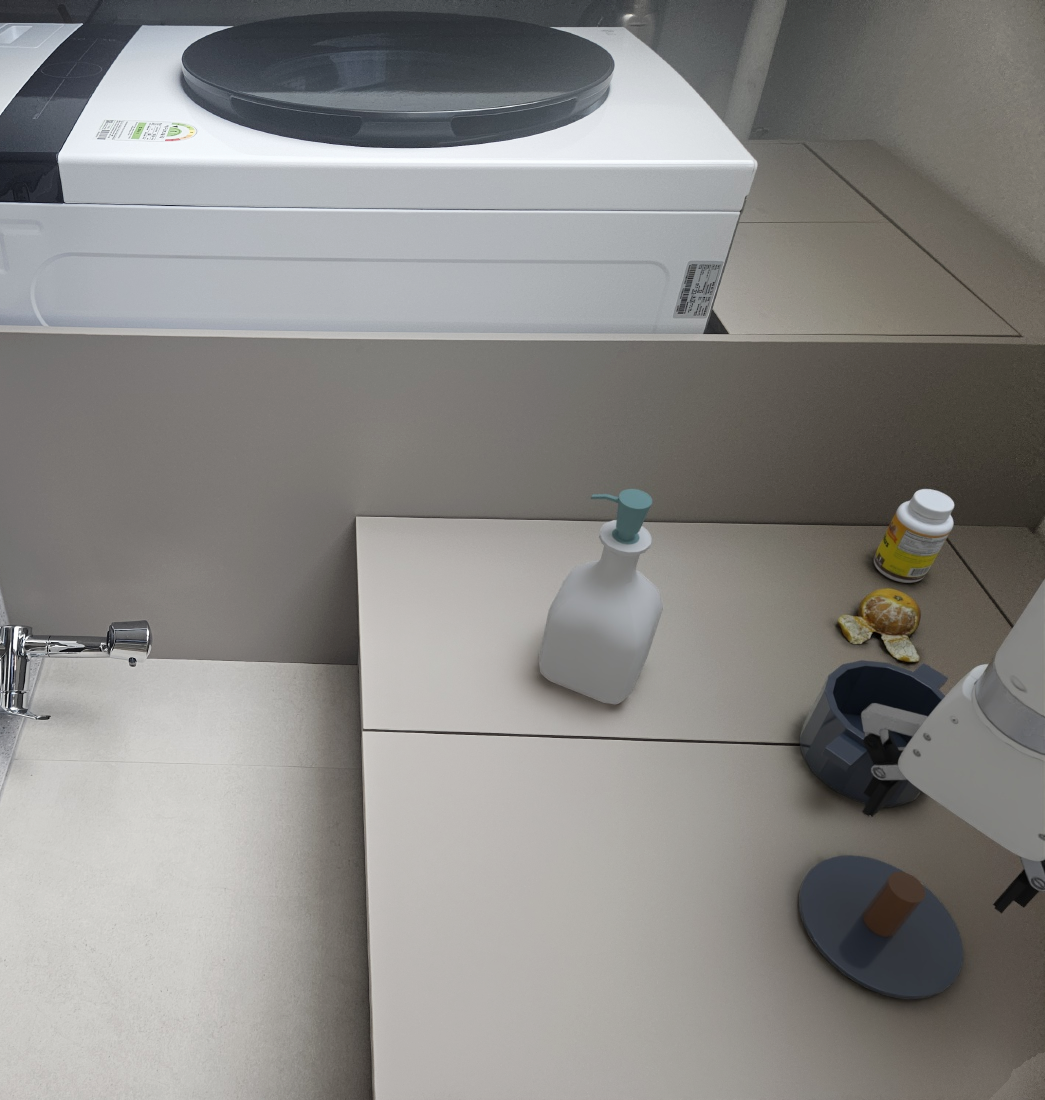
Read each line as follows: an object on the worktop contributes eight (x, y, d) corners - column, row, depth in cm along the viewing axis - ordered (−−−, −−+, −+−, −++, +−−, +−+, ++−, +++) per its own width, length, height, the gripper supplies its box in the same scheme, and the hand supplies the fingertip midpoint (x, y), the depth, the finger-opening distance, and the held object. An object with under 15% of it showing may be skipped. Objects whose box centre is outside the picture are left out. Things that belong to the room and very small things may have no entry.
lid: (986, 942, 77) (1025, 901, 73) (907, 1035, 72) (944, 996, 67) (847, 837, 84) (875, 794, 80) (766, 914, 79) (791, 872, 75)
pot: (963, 752, 91) (999, 701, 86) (868, 844, 84) (902, 794, 79) (855, 681, 98) (883, 631, 93) (759, 761, 90) (783, 711, 85)
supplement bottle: (879, 546, 113) (913, 477, 106) (930, 566, 110) (969, 496, 104) (865, 571, 110) (899, 502, 103) (917, 592, 107) (956, 522, 100)
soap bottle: (561, 623, 104) (600, 453, 89) (649, 656, 101) (704, 485, 86) (529, 681, 98) (565, 509, 83) (621, 718, 94) (675, 545, 79)
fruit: (831, 634, 103) (843, 610, 100) (851, 591, 107) (863, 567, 105) (915, 668, 99) (930, 644, 96) (932, 622, 104) (946, 597, 101)
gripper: (1239, 763, 55) (1089, 909, 67) (942, 598, 66) (856, 748, 77) (1185, 832, 52) (1038, 973, 64) (882, 648, 63) (802, 797, 74)
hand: (938, 850), depth 70 cm, fingers open, 9 cm apart
